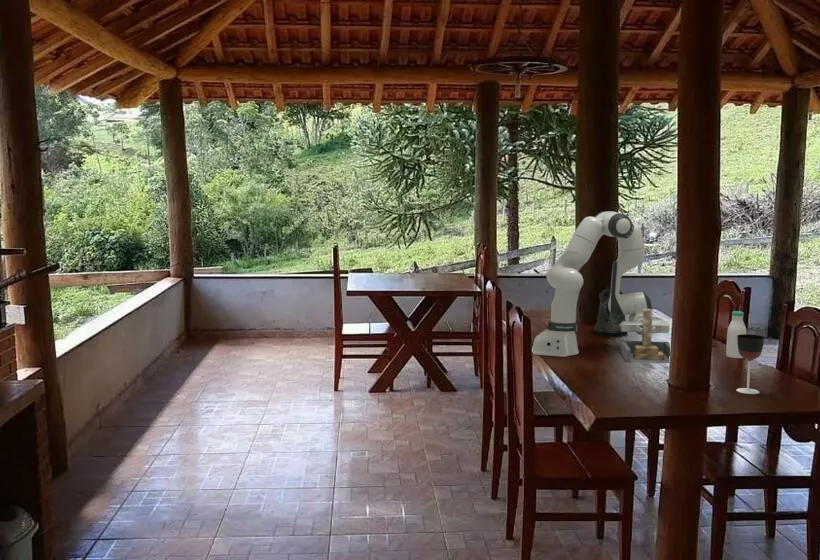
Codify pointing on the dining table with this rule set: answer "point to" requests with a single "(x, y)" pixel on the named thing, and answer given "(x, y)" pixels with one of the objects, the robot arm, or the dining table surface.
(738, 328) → the milk bottle
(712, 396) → the dining table surface
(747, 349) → the wineglass
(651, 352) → the upper offcut
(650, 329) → the birch strip
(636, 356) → the lower offcut
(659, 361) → the grey open tray
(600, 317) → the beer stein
